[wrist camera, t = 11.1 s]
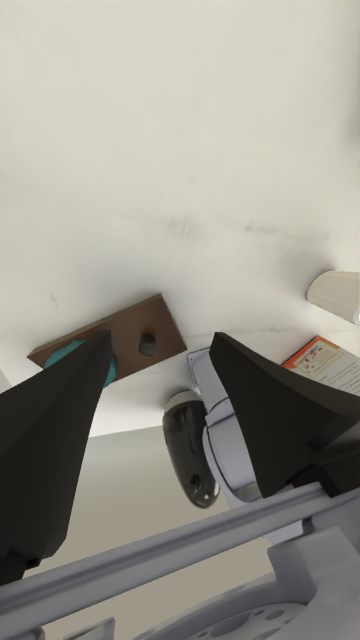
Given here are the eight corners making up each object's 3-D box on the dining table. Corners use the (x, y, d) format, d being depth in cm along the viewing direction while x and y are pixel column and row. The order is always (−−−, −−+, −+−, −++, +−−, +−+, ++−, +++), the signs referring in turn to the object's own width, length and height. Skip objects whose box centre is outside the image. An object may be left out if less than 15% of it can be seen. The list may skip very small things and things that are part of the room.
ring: (117, 383, 23) (110, 419, 19) (58, 387, 21) (32, 429, 16) (114, 340, 19) (103, 372, 14) (39, 339, 17) (-2, 377, 12)
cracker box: (278, 382, 36) (403, 518, 18) (266, 375, 34) (400, 527, 16) (326, 344, 32) (547, 472, 14) (318, 334, 30) (574, 474, 12)
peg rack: (161, 292, 19) (167, 318, 13) (185, 344, 24) (198, 379, 18) (33, 349, 19) (-21, 401, 13) (85, 387, 24) (64, 437, 18)
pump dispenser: (195, 376, 29) (235, 488, 16) (210, 399, 34) (248, 497, 21) (151, 396, 29) (154, 523, 16) (172, 416, 34) (187, 522, 21)
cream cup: (347, 280, 24) (413, 293, 18) (314, 312, 26) (362, 333, 20) (331, 257, 21) (404, 264, 15) (296, 295, 23) (346, 314, 17)
